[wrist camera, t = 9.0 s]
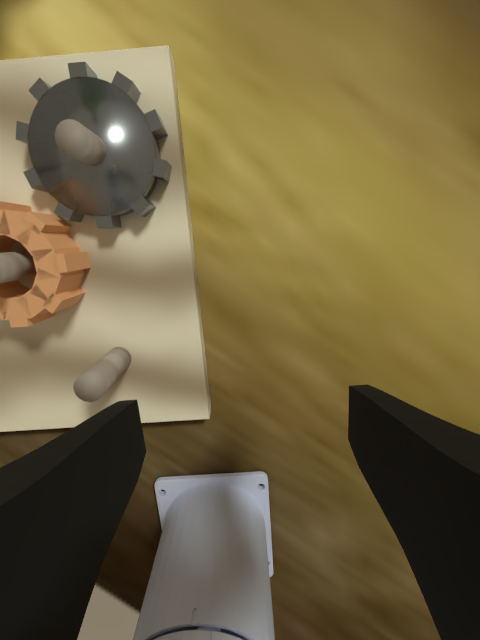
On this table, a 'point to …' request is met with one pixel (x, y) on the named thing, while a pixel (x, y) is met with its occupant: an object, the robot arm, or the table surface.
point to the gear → (118, 136)
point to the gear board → (105, 271)
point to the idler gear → (40, 265)
